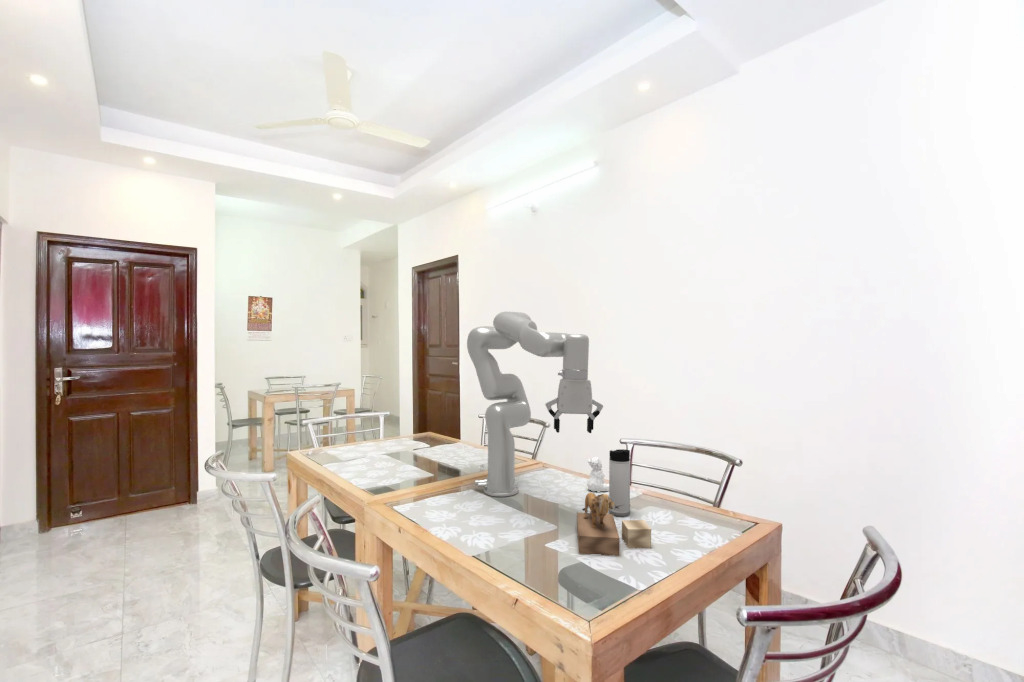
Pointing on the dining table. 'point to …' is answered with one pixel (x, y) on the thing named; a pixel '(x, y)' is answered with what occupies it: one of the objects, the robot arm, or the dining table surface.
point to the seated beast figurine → (596, 476)
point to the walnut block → (597, 535)
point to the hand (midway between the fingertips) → (573, 431)
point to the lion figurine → (597, 507)
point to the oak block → (636, 534)
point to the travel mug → (619, 482)
